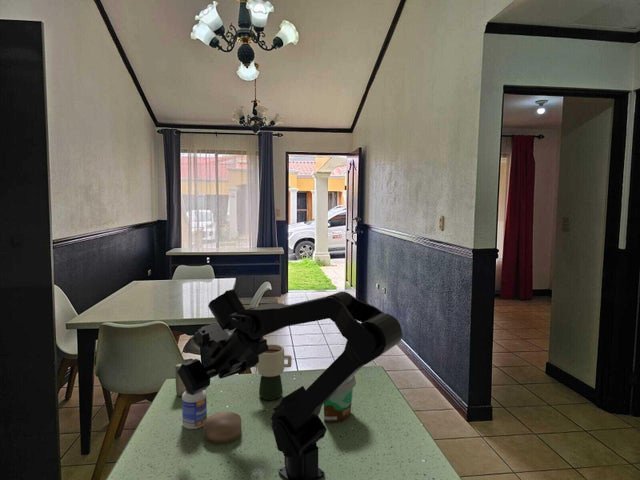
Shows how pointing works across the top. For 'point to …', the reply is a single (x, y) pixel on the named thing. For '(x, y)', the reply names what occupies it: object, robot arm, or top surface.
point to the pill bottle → (194, 410)
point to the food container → (339, 403)
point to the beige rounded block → (179, 383)
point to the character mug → (272, 371)
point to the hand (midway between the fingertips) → (203, 383)
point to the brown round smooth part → (222, 427)
